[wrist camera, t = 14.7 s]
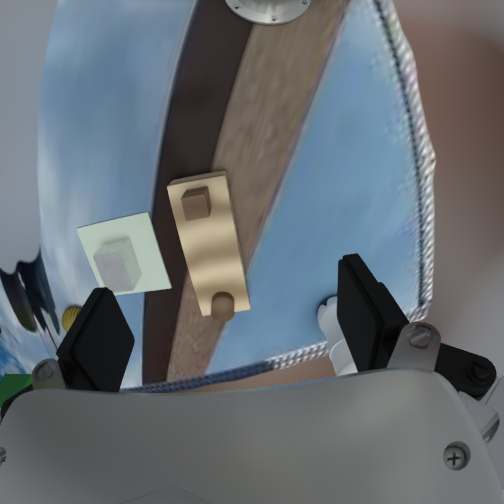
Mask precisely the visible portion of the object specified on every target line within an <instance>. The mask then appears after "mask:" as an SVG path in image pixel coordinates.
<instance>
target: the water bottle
mask: <svg viewBox="0 0 504 504" xmlns="http://www.w3.org/2000/svg"><path fill="white" fill-rule="evenodd" d="M317 319H318V324H319V327H320V329H321V330H322V331H323V333H324V335H325V337H326V339H327V342H328V349H329V357H330V360H331V361H332V363H333V366H334V369H335V372H336V375H337V376H340V375H345V374H351V373H357V372H358V371H357V369H356V366H355V363H354V361H353V358H352V356H351V353H350V350H349V348H348V345H347V343H346V340H345V338H344V335H343V333H342V330H341V328H340V325H339V323H338V320H337V297H336V296H335V297H331V298H329V299H328V300H327V305H326V306H325V305H323V304H322V305H321V306H320V307H319V310H318V315H317Z"/></svg>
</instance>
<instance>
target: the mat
mask: <svg viewBox="0 0 504 504" xmlns="http://www.w3.org/2000/svg"><path fill="white" fill-rule="evenodd" d="M77 231H78V233H79V236H80V239H81V242H82V244H83V247H84V250H85V252H86V255H87V257H88V260H89V262H90V265H91V267H92V270H93V272H94V274H95V277H96V279H97V281H98V284H99V286H100V288H101V287H105V285H104V283H103V281H102V278H101V276H100V274H99V271H98V269H97V266H96V264H95V261H94V259H93V255H94V253H95V252H96V251H97V250H98V249H99V248H100V246H101V245H102V244H103V243H104V242H107V241H112V240H117V239H122V238H127V237H130V240H131V243H132V246H133V249H134V252H135V255H136V258H137V261H138V264H139V266H140V269H141V272H142V275H141V277H140V279H139V281H138V283H137V285H136V287H135V289H134V290H132V291H124V292H116V293H114V295H121V294H129V293H137V292H145V291H153V290H161V289H168V288H172V286H171V283H170V280H169V277H168V274H167V271H166V267H165V264H164V261H163V258H162V255H161V252H160V249H159V245H158V242H157V239H156V235H155V232H154V228H153V225H152V222H151V218H150V214H149V211H148V212H143V213H139V214H134V215H130V216H125V217H121V218H116V219H112V220H108V221H104V222H99V223H95V224H91V225H87V226H83V227H79V228H77Z"/></svg>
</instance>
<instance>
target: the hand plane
mask: <svg viewBox="0 0 504 504" xmlns="http://www.w3.org/2000/svg"><path fill="white" fill-rule="evenodd" d="M167 190H168V194H169V198H170V202H171V206H172V210H173V214H174V218H175V222H176V226H177V229H178V233H179V237H180V241H181V244H182V248H183V251H184V255H185V259H186V262H187V266H188V269H189V272H190V276H191V279H192V283H193V286H194V289H195V293H196V296H197V299H198V302H199V305H200V309H201V312H202V315H203V316H205V315H212V317H213V318H214V319H216V320H218V321H228V320H230V319H232V318H233V316H234V312H236V311H243V310H250V297H249V291H248V285H247V280H246V275H245V270H244V264H243V259H242V254H241V248H240V243H239V238H238V232H237V227H236V221H235V216H234V211H233V205H232V200H231V194H230V189H229V183H228V178H227V172H226V170H222V171H217V172H211V173H206V174H201V175H195V176H190V177H185V178H180V179H176V180H173V181H172V182H171V183H170V184H169V185H168V186H167Z"/></svg>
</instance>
